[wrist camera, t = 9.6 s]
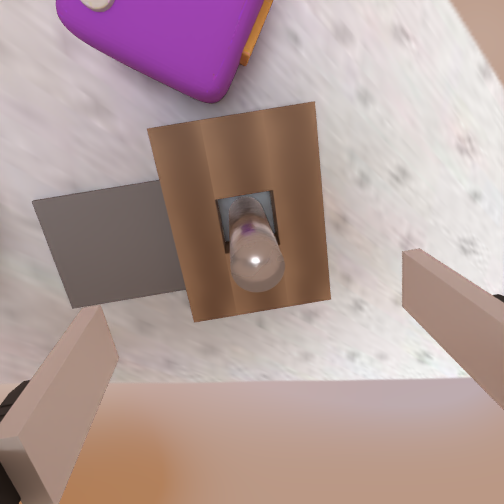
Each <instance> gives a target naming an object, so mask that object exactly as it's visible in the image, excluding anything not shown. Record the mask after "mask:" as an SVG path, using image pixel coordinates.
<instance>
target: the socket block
mask: <svg viewBox="0 0 504 504" xmlns="http://www.w3.org/2000/svg"><path fill="white" fill-rule="evenodd" d="M147 131H148V135H149V139H150V143H151V147H152V151H153V155H154V160H155V164H156V168H157V172H158V176H159V180H160V184H161V188H162V192H163V196H164V201H165V205H166V209H167V213H168V217H169V221H170V225H171V229H172V233H173V237H174V242H175V246H176V250H177V254H178V258H179V262H180V266H181V270H182V274H183V278H184V282H185V287H186V291H187V295H188V299H189V303H190V307H191V311H192V315H193V319H194V322H200V321H206V320H212V319H218V318H223V317H229V316H235V315H241V314H247V313H253V312H259V311H265V310H271V309H277V308H283V307H288V306H294V305H300V304H306V303H312V302H318V301H324V300H330V299H331V295H330V282H329V270H328V258H327V245H326V233H325V221H324V208H323V196H322V184H321V171H320V159H319V147H318V134H317V122H316V110H315V101H314V102H308V103H302V104H296V105H290V106H284V107H277V108H271V109H265V110H259V111H253V112H247V113H241V114H234V115H228V116H222V117H216V118H210V119H204V120H197V121H191V122H185V123H179V124H173V125H167V126H161V127H154V128H148V129H147ZM264 191H270V197H271V205H272V212H273V220H274V227H275V234H274V237H275V239H276V241H277V244H278V246H279V249H280V251H281V253H282V256H283V258H284V262H285V271H284V274H283V277H282V279H281V280H280V282H279V283H278V284H277V285H276V286H274V287H273V288H271V289H269V290H267V291H264V292H250V291H247V290H244V289H242V288H241V287H240V286H238V285H237V284H236V282H235V281H234V279H233V277H232V275H231V269H230V241H229V242H225V237H224V232H223V227H222V222H221V216H220V211H219V206H218V201H217V199H222V198H228V197H234V196H240V195H246V194H252V193H258V192H264Z"/></svg>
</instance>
